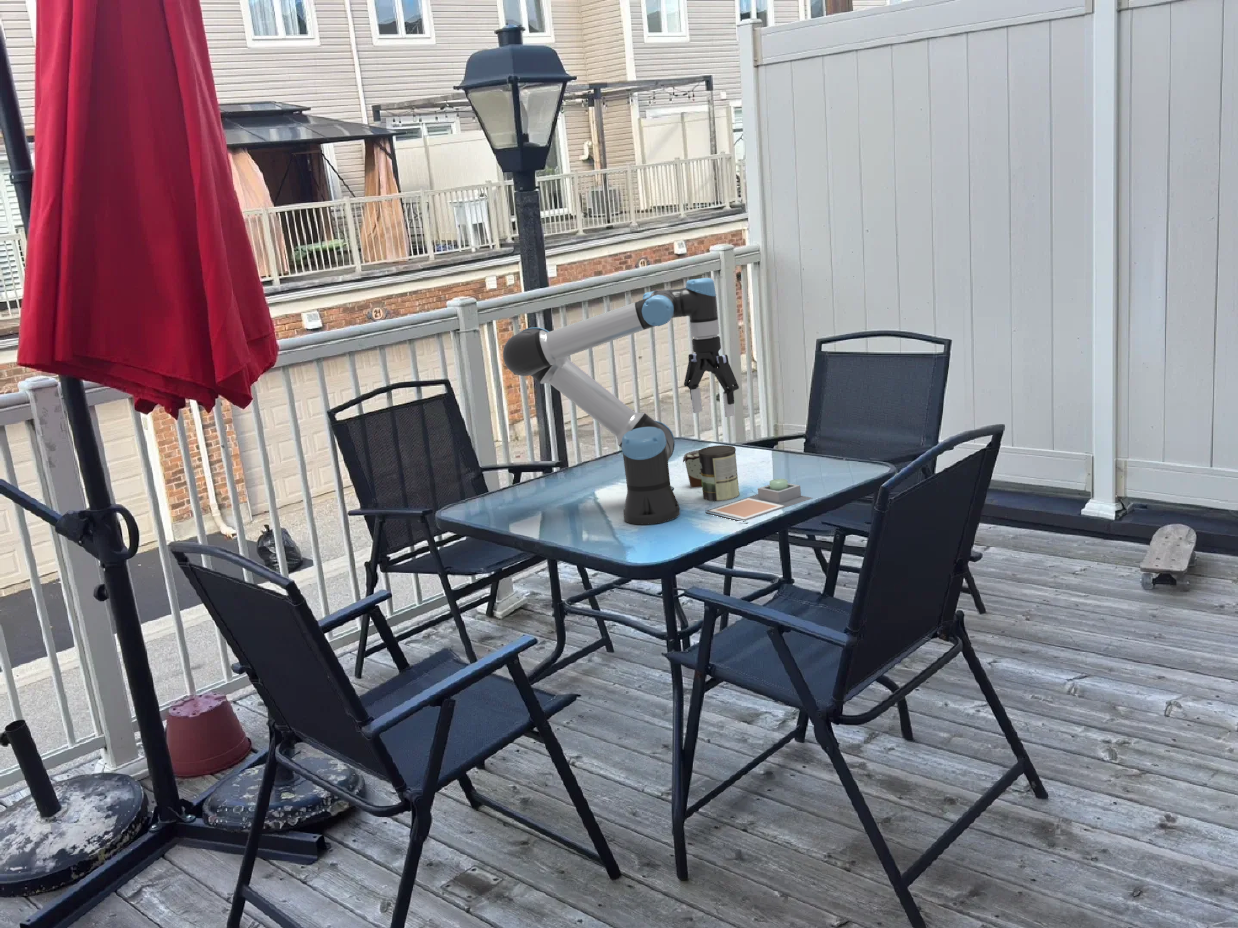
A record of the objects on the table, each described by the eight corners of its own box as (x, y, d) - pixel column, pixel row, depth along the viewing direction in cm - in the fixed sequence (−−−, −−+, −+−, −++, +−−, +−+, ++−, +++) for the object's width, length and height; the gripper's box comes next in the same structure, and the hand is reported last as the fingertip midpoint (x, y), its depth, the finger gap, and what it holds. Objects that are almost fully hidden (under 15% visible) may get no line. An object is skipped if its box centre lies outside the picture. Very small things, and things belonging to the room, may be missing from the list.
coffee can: (698, 504, 299) (693, 454, 296) (708, 494, 308) (703, 445, 305) (735, 503, 295) (730, 453, 292) (744, 493, 304) (739, 444, 301)
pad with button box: (745, 523, 276) (744, 509, 275) (705, 513, 289) (704, 499, 288) (813, 500, 289) (812, 487, 288) (771, 492, 302) (770, 479, 301)
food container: (728, 479, 321) (724, 446, 319) (728, 485, 315) (724, 451, 313) (686, 483, 323) (683, 450, 320) (685, 488, 317) (682, 455, 314)
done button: (779, 496, 289) (778, 484, 289) (766, 494, 293) (765, 482, 292) (792, 492, 292) (791, 480, 291) (779, 490, 296) (778, 477, 295)
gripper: (747, 335, 283) (754, 415, 288) (687, 333, 304) (695, 407, 308) (725, 340, 279) (733, 420, 284) (666, 337, 299) (674, 413, 304)
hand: (713, 414), depth 296 cm, fingers open, 13 cm apart
